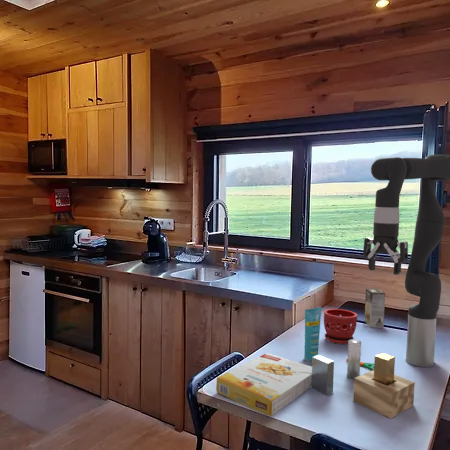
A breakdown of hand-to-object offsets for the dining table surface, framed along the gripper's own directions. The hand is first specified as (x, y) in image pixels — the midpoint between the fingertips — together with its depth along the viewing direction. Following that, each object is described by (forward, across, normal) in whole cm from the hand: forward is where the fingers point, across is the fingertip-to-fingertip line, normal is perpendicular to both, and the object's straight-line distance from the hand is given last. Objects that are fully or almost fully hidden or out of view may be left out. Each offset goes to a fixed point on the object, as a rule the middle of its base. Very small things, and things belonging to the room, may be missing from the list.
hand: (383, 272), depth 136 cm
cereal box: (+37, +18, +32) cm, 52 cm away
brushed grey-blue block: (+36, +7, +20) cm, 42 cm away
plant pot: (+36, +31, -20) cm, 52 cm away
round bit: (+36, +7, +4) cm, 37 cm away
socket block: (+36, -9, +12) cm, 39 cm away
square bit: (+34, -9, +12) cm, 37 cm away
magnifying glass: (+37, +9, -7) cm, 38 cm away
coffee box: (+36, +35, -51) cm, 72 cm away
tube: (+36, +25, +4) cm, 44 cm away
